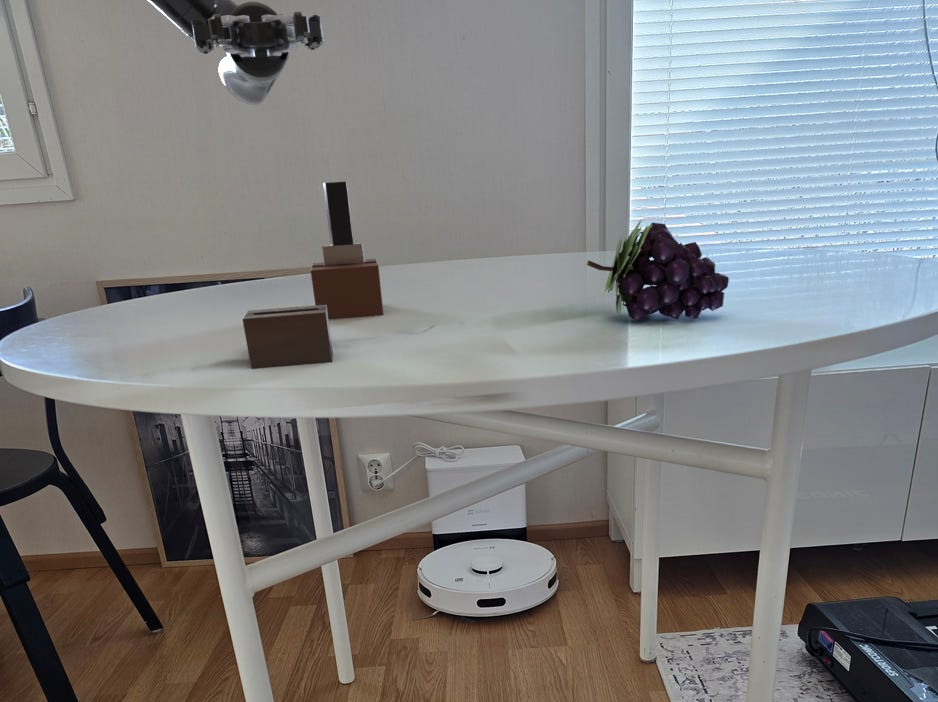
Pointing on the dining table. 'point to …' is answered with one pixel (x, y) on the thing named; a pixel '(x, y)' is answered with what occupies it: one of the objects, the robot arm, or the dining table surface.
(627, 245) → the fruit
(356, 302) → the slotted brown box
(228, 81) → the robot arm
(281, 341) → the knife block
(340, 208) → the knife
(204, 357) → the dining table surface
